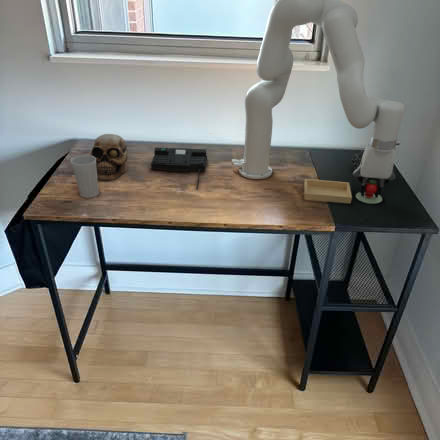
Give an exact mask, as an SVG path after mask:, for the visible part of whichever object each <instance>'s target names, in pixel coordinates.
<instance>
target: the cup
mask: <svg viewBox="0 0 440 440" xmlns="http://www.w3.org/2000/svg"><path fill="white" fill-rule="evenodd" d="M70 163H71V167H72V170H73V173H74V177H75V181H76V184H77V186H78V188H77V189H78V191H79V196H80V197H82V198H84V199H85V198H87V199H89V198H90V199H91V198H94V197H97V196H98V195H99V193H100V191H99V182H98V180H99V179H98V178H97V167H96V158H95V157H94V156H91V154H81V155H77V156H73V157H72V158H71V159H70Z"/></svg>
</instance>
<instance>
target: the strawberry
mask: <svg viewBox="0 0 440 440" xmlns="http://www.w3.org/2000/svg"><path fill="white" fill-rule="evenodd" d="M377 184H378V183H377V180H375V179H368V182H366V189H365V196H366V197H373V196H374V194H375V193H376V192H377Z"/></svg>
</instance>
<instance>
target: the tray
mask: <svg viewBox="0 0 440 440" xmlns="http://www.w3.org/2000/svg"><path fill="white" fill-rule="evenodd" d="M303 181H304V182H303V200H306V201H317V202H327V203H329V202H330V203H338V204H339V203H341V204H351V203H352V199H353V196H352V189H351V185H350V182H349V181H348V182H347V181H336V180H325V179H324V180H323V179H311V178H304V180H303Z"/></svg>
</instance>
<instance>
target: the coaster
mask: <svg viewBox="0 0 440 440" xmlns="http://www.w3.org/2000/svg"><path fill="white" fill-rule="evenodd" d="M355 198H356V199H357V200H358V201H360V202H363V203H365V204H379V203H381V202H382V201H383V197H382V196H381V194H380V195H379V194H378V198H376V197H375V194H374V196H373V197H366V196H365V193H364V196H361V193H360V192H359V191H358V192H357V193H356V194H355Z"/></svg>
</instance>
